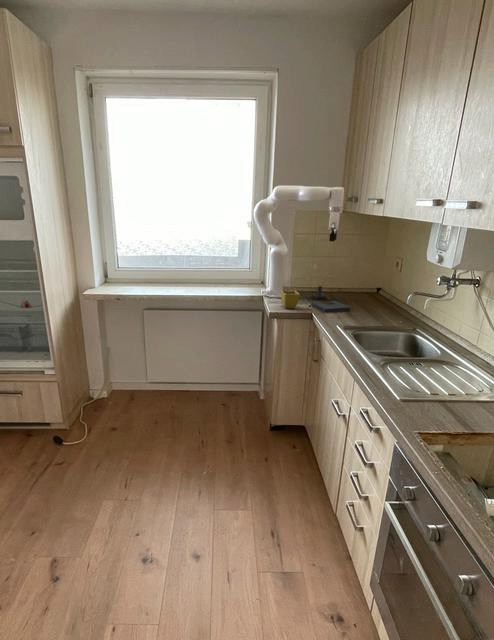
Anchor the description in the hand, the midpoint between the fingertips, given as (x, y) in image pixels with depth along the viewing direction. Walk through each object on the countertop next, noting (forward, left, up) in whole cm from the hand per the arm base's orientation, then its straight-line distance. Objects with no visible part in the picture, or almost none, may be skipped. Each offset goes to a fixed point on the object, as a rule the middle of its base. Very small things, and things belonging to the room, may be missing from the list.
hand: (332, 240), depth 248 cm
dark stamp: (-3, +4, -36) cm, 37 cm away
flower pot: (-31, -12, -36) cm, 49 cm away
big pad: (-8, -19, -36) cm, 41 cm away
